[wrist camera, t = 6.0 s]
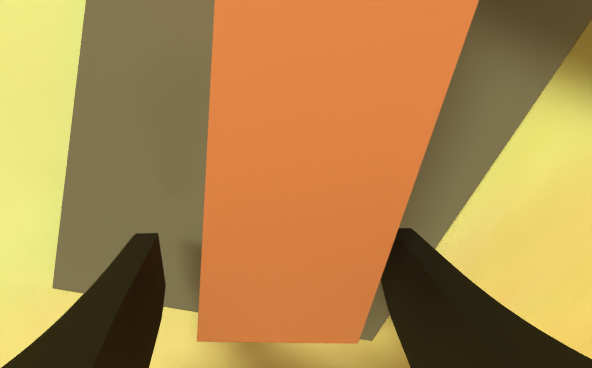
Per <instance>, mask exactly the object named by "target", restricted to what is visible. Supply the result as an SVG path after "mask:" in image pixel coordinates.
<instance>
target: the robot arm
mask: <svg viewBox="0 0 592 368" xmlns="http://www.w3.org/2000/svg"><path fill="white" fill-rule="evenodd" d="M381 283H382V287H383V292H384V296H385V300H386V304H387V307H388V311H389V313H390V316H391V319H392V321H393V324H394V326H395V329H396V332H397V334H398V337H399V339H400V342H401V344H402V347H403V349H404V352H405V354H406V357H407V359H408V362H409V365H410V367H411V368H592V359H590V358H588V357H586V356H584V355H583V354H581V353H579V352H577V351H575V350H573V349H572V348H570V347H568V346H566V345H564V344H563V343H561V342H559V341H557V340H556V339H554V338H552V337H551V336H549V335H547V334H546V333H544V332H542V331H541V330H539V329H537V328H536V327H534V326H533V325H531V324H529V323H528V322H526V321H525V320H523V319H522V318H520V317H519V316H517V315H516V314H515V313H513V312H512V311H510V310H509V309H507V308H506V307H504V306H503V305H502V304H500V303H499V302H497V301H496V300H495V299H493V298H492V297H491V296H489V295H488V294H487V293H486V292H484V291H483V290H482V289H481V288H479V287H478V286H477V285H475V284H474V283H473V282H472V281H471V280H469V279H468V278H467V277H466V276H465V275H463V274H462V273H461V272H460V271H459V270H458V269H456V268H455V267H454V266H453V265H452V264H451V263H450V262H448V261H447V260H446V259H445V258H444V257H443V256H442V255H441V254H440V253H438V252H437V251H436V250H435V249H434V248H433V247H432V246H431V245H430V244H429V243H427V242H426V241H425V240H424V239H423V238H422V237H421V236H420V235H419V234H418V233H416V232H415V231H414V230H413V229H412V228H398V231H397V234H396V237H395V240H394V243H393V245H392V248H391V251H390V254H389V257H388V260H387V262H386V265H385V268H384V271H383V274H382V277H381ZM165 288H166V283H165V276H164V269H163V263H162V256H161V249H160V242H159V235H158V233H136V234H135V235H134V236H132V238H131V239H130V240H129V241H128V243H127V244H126V245H125V246H124V248H123V249H122V250H121V251H120V253H119V254H118V255H117V256H116V258H115V259H114V260H113V261H112V262H111V264H110V265H109V266H108V267H107V268H106V270H105V271H104V272H103V273H102V274H101V275H100V276H99V278H98V279H97V280H96V281H95V282H94V283H93V284H92V286H91V287H90V288H89V289H88V290H87V291H86V292H85V293H84V294H83V295H82V296H81V297H80V298H79V299H78V300H77V301H76V302H75V303H74V304H73V306H72V307H71V308H70V309H69V310H68V311H67V312H66V313H65V314H64V315H63V316H62V317H61V318H59V319H58V320H57V321H56V322H55V323H54V324H53V325H52V326H51V327H50V328H49V329H48V330H47V331H45V332H44V333H43V334H42V335H41V336H40V337H39V338H38V339H36V340H35V341H34V342H33V343H32V344H31V345H29V346H28V347H27V348H26V349H25V350H23V351H22V352H21V353H20V354H18V355H17V356H16V357H15V358H13V359H12V360H11V361H9V362H8V363H7V364H6V365H4V366H3V367H2V368H149V365H150V361H151V357H152V354H153V350H154V346H155V342H156V338H157V334H158V330H159V327H160V322H161V318H162V311H163V304H164V296H165Z"/></svg>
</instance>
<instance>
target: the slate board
mask: <svg viewBox="0 0 592 368" xmlns="http://www.w3.org/2000/svg"><path fill="white" fill-rule="evenodd" d="M214 5H215V0H86V6H85V14H84V23H83V31H82V40H81V48H80V57H79V65H78V74H77V82H76V91H75V100H74V108H73V117H72V125H71V134H70V142H69V151H68V159H67V168H66V176H65V185H64V194H63V202H62V211H61V219H60V228H59V236H58V245H57V253H56V262H55V270H54V279H53V288H54V289H60V290H66V291H72V292H78V293H85V292H86V291H87V290H88V289H89V288H90V287H91V286H92V284H93V283H94V282H95V281H96V280H97V279H98V278H99V276H100V275H101V274H102V273H103V272H104V271H105V270H106V268H107V267H108V266H109V265H110V264H111V262H112V261H113V260H114V259H115V258H116V256H117V255H118V254H119V253H120V251H121V250H122V249H123V248H124V246H125V245H126V244H127V243H128V241H129V240H130V239H131V238H132V236H134V235H135V234H136V233H158V235H159V242H160V249H161V256H162V263H163V269H164V276H165V283H166V288H165V296H164V304H163V307H169V308H175V309H181V310H187V311H193V312H199V294H200V275H201V255H202V236H203V217H204V197H205V178H206V159H207V140H208V120H209V101H210V82H211V62H212V43H213V24H214ZM591 20H592V0H479V2H478V4H477V7H476V10H475V13H474V16H473V19H472V21H471V24H470V27H469V30H468V33H467V36H466V38H465V41H464V44H463V47H462V50H461V53H460V55H459V58H458V61H457V64H456V67H455V70H454V73H453V75H452V78H451V81H450V84H449V87H448V90H447V92H446V95H445V98H444V101H443V104H442V107H441V109H440V112H439V115H438V118H437V121H436V124H435V126H434V129H433V132H432V135H431V138H430V141H429V143H428V146H427V149H426V152H425V155H424V158H423V160H422V163H421V166H420V169H419V172H418V175H417V177H416V180H415V183H414V186H413V189H412V192H411V194H410V197H409V200H408V203H407V206H406V209H405V211H404V214H403V217H402V220H401V223H400V226H399V228H412V229H413V230H414V231H415V232H416V233H418V234H419V235H420V236H421V237H422V238H423V239H424V240H425V241H426V242H427V243H429V244H430V245H431V246H432V247H433V248H434V249H435V248H436V246H437V245H438V243H439V242H440V240H441V239H442V238H443V236H444V235H445V233H446V232H447V230H448V229H449V227H450V226H451V224H452V223H453V221H454V220H455V219H456V217H457V216H458V214H459V213H460V211H461V210H462V208H463V207H464V205H465V204H466V202H467V201H468V199H469V198H470V197H471V195H472V194H473V192H474V191H475V189H476V188H477V186H478V185H479V183H480V182H481V180H482V179H483V178H484V176H485V175H486V173H487V172H488V170H489V169H490V167H491V166H492V164H493V163H494V161H495V160H496V159H497V157H498V156H499V154H500V153H501V151H502V150H503V148H504V147H505V145H506V144H507V142H508V141H509V140H510V138H511V137H512V135H513V134H514V132H515V131H516V129H517V128H518V126H519V125H520V123H521V122H522V121H523V119H524V118H525V116H526V115H527V113H528V112H529V110H530V109H531V107H532V106H533V104H534V103H535V102H536V100H537V99H538V97H539V96H540V94H541V93H542V91H543V90H544V88H545V87H546V85H547V84H548V82H549V81H550V80H551V78H552V77H553V75H554V74H555V72H556V71H557V69H558V68H559V66H560V65H561V63H562V62H563V61H564V59H565V58H566V56H567V55H568V53H569V52H570V50H571V49H572V47H573V46H574V44H575V43H576V42H577V40H578V39H579V37H580V36H581V34H582V33H583V31H584V30H585V28H586V27H587V25H588V24H589V23H590V21H591ZM389 315H390V313H389V311H388V307H387V304H386V300H385V296H384V292H383V287H382V283H381V279H380V282H379V285H378V288H377V291H376V294H375V296H374V299H373V302H372V305H371V308H370V311H369V313H368V316H367V319H366V322H365V325H364V328H363V331H362V333H361V336H360V339H363V340H369V341H372V340H373V338H374V337H375V336H376V334H377V333H378V331H379V330H380V328H381V327H382V325H383V324H384V322H385V321H386V319H387V318H388V316H389Z"/></svg>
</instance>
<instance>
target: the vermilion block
mask: <svg viewBox="0 0 592 368" xmlns="http://www.w3.org/2000/svg"><path fill="white" fill-rule="evenodd" d="M478 2H479V0H215V5H214V24H213V43H212V62H211V82H210V101H209V120H208V140H207V159H206V178H205V197H204V217H203V236H202V255H201V275H200V294H199V313H198V332H197V341H201V342H280V343H358V342H359V339H360V336H361V333H362V331H363V328H364V325H365V322H366V319H367V316H368V313H369V311H370V308H371V305H372V302H373V299H374V296H375V294H376V291H377V288H378V285H379V282H380V279H381V277H382V274H383V271H384V268H385V265H386V262H387V260H388V257H389V254H390V251H391V248H392V245H393V243H394V240H395V237H396V234H397V231H398V228H399V226H400V223H401V220H402V217H403V214H404V211H405V209H406V206H407V203H408V200H409V197H410V194H411V192H412V189H413V186H414V183H415V180H416V177H417V175H418V172H419V169H420V166H421V163H422V160H423V158H424V155H425V152H426V149H427V146H428V143H429V141H430V138H431V135H432V132H433V129H434V126H435V124H436V121H437V118H438V115H439V112H440V109H441V107H442V104H443V101H444V98H445V95H446V92H447V90H448V87H449V84H450V81H451V78H452V75H453V73H454V70H455V67H456V64H457V61H458V58H459V55H460V53H461V50H462V47H463V44H464V41H465V38H466V36H467V33H468V30H469V27H470V24H471V21H472V19H473V16H474V13H475V10H476V7H477V4H478Z"/></svg>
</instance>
